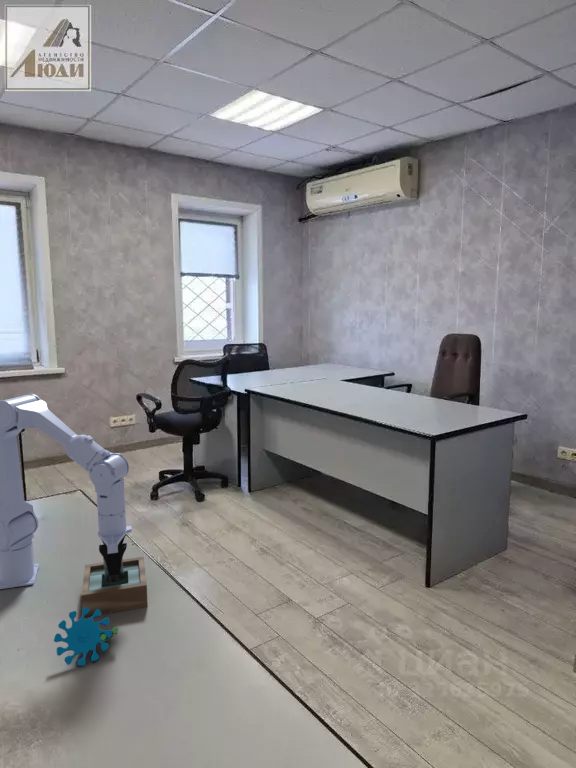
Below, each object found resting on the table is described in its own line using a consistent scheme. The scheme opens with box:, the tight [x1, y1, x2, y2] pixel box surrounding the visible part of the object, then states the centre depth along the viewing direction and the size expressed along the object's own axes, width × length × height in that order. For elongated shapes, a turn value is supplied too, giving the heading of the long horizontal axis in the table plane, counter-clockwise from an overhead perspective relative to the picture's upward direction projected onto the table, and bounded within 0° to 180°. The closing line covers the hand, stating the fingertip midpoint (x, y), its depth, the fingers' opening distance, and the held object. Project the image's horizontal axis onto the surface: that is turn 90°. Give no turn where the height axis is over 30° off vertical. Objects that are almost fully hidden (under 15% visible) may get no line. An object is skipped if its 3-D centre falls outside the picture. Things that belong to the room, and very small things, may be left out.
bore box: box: [81, 556, 148, 618], centre depth 115 cm, size 13×13×5 cm
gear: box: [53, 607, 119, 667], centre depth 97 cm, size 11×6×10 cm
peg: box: [102, 556, 124, 583], centre depth 114 cm, size 4×4×7 cm
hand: (114, 569), depth 114 cm, fingers closed on peg, 4 cm apart
